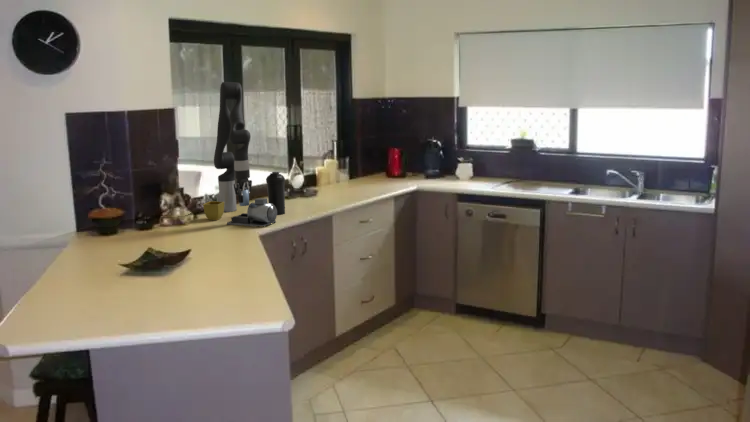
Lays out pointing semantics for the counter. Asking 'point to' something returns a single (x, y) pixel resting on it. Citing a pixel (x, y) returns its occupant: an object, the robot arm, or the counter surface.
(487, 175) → the counter surface
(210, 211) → the flower pot
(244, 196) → the blue capped cylinder
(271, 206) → the electric motor
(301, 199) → the counter surface
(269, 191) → the water bottle
